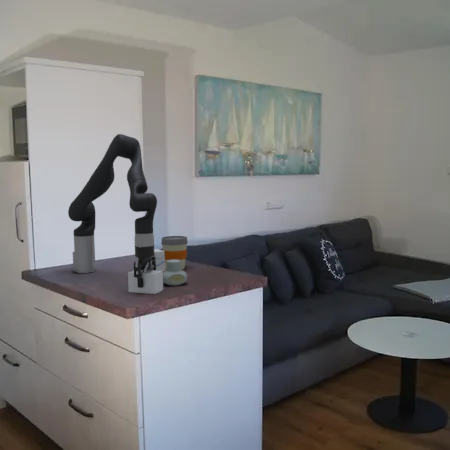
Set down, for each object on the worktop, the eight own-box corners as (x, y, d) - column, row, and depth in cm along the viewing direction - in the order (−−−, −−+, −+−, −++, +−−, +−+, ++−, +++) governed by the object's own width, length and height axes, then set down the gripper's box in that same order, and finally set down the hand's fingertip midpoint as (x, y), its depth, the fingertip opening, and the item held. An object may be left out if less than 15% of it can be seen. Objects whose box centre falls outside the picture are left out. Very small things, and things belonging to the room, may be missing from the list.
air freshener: (184, 281, 218) (183, 258, 216) (189, 285, 210) (189, 261, 209) (159, 283, 214) (158, 259, 213) (163, 287, 206) (163, 263, 205)
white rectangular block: (128, 291, 199) (127, 272, 198) (136, 288, 206) (136, 269, 205) (155, 294, 196) (155, 274, 195) (163, 290, 202) (162, 270, 201)
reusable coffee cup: (164, 266, 251) (163, 235, 249) (189, 265, 250) (188, 235, 248) (160, 271, 238) (159, 239, 236) (186, 271, 238) (186, 239, 236)
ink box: (166, 277, 225) (165, 250, 224) (155, 278, 223) (155, 252, 221) (157, 273, 233) (156, 248, 231) (147, 275, 230) (146, 249, 228)
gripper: (144, 241, 206) (145, 280, 208) (126, 246, 193) (128, 288, 195) (161, 242, 204) (162, 281, 206) (144, 247, 190) (145, 289, 192)
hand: (145, 285), depth 200 cm, fingers open, 8 cm apart
